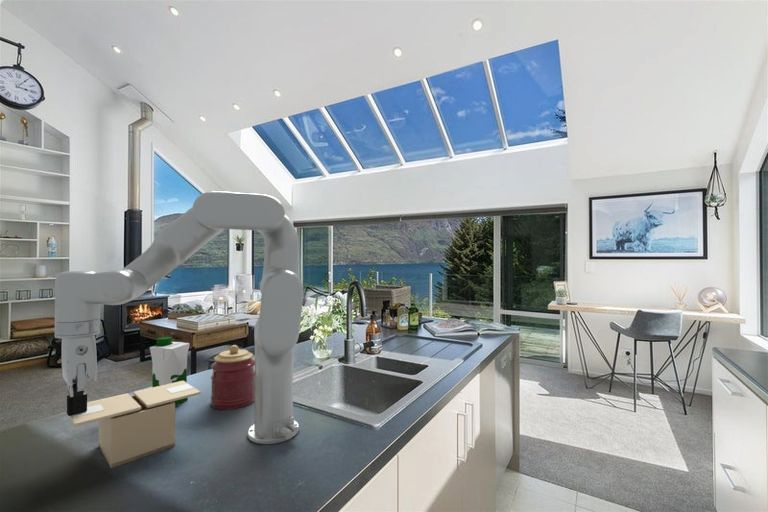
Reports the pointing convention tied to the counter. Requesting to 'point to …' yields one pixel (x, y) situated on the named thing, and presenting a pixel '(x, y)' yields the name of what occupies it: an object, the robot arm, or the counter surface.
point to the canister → (233, 379)
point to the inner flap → (166, 393)
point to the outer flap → (105, 409)
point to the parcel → (137, 433)
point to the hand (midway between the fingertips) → (76, 412)
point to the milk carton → (169, 363)
